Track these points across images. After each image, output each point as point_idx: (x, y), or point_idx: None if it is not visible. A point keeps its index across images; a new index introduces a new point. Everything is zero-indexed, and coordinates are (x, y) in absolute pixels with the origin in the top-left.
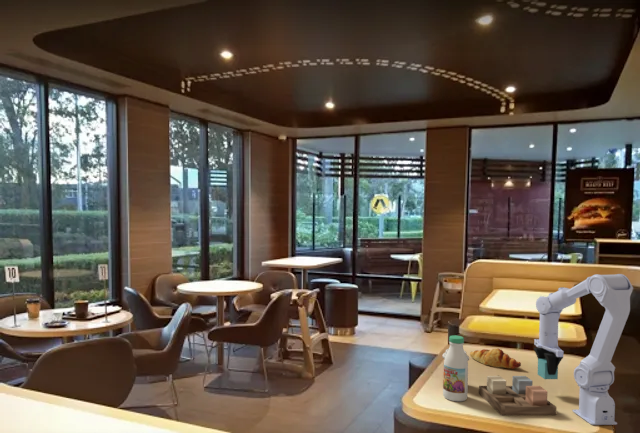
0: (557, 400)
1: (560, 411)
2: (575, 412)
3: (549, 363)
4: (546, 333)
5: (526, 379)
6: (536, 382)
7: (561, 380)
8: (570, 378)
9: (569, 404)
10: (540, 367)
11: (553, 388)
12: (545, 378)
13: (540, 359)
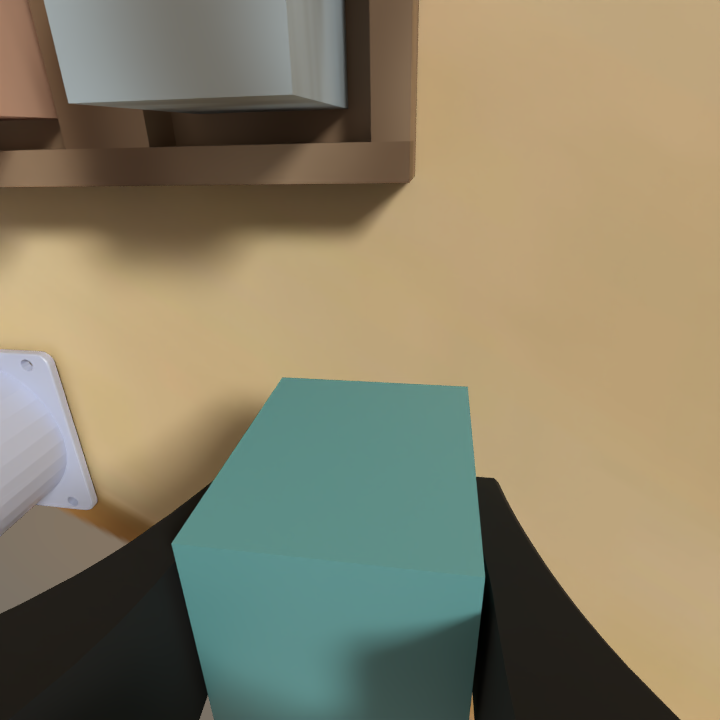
0: (252, 367)
1: (31, 262)
2: (6, 352)
3: (78, 579)
4: None
5: (106, 11)
6: (691, 431)
7: (677, 641)
8: (700, 714)
9: (185, 410)
10: (376, 457)
11: (513, 486)
12: (280, 391)
13: (411, 589)
